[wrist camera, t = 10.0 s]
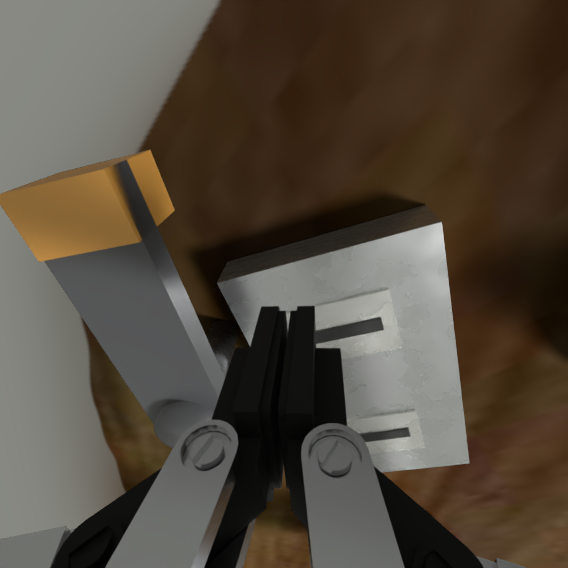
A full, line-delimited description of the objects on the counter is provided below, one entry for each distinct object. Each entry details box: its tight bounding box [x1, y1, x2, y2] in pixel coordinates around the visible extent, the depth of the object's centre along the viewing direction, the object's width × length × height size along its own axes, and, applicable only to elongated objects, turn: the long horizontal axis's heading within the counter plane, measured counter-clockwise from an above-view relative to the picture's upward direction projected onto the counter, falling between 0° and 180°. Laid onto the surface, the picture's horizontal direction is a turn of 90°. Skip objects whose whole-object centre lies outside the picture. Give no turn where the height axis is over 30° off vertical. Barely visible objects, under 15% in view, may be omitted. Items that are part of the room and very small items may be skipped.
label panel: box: [217, 205, 469, 472], centre depth 27 cm, size 24×14×3 cm, turn 19°
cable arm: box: [0, 150, 225, 448], centre depth 18 cm, size 17×5×4 cm, turn 13°
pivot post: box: [207, 320, 239, 377], centre depth 25 cm, size 2×2×6 cm
